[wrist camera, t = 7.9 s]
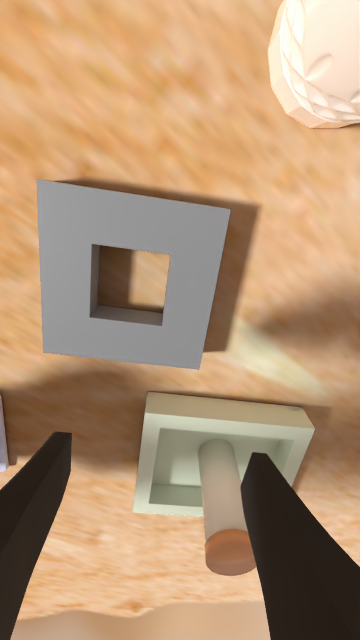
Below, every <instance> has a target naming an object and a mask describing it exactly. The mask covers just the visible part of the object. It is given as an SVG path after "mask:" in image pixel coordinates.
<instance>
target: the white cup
mask: <svg viewBox="0 0 360 640" xmlns="http://www.w3.org/2000/svg"><path fill="white" fill-rule="evenodd" d="M268 61H269V71H270V81H271V88H272V90H273V92H274V93H275V95H276V97H277V99H278V100H279V102H280V104H281V106H282V108H283V109H284V111H285V113H286V114H287V115H288V116H290V117H292V118H293V119H295V120H297V121H298V122H300V123H302V124H303V125H305V126H307V127H308V128H339V127H343V126H346V125H349V124H352V123H360V0H283V2H282V4H281V6H280V8H279V10H278V13H277V16H276V20H275V24H274V28H273V32H272V36H271V40H270V44H269V48H268Z"/></svg>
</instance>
